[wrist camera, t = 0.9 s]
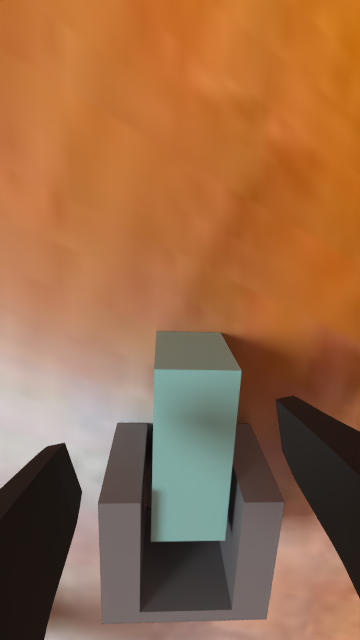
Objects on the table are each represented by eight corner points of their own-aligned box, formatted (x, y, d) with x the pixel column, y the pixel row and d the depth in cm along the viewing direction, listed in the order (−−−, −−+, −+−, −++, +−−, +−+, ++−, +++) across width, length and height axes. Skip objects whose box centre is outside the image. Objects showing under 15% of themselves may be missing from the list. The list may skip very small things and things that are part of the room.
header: (249, 424, 22) (284, 502, 16) (232, 577, 26) (255, 690, 20) (117, 423, 22) (98, 503, 15) (119, 579, 25) (104, 696, 19)
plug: (220, 332, 20) (241, 370, 15) (210, 465, 23) (224, 540, 18) (156, 330, 20) (154, 369, 15) (153, 465, 23) (151, 541, 17)
